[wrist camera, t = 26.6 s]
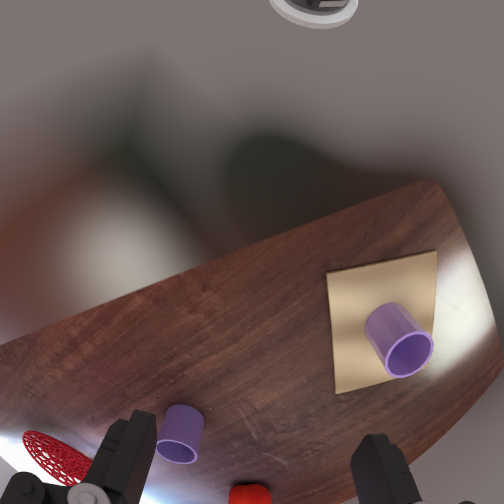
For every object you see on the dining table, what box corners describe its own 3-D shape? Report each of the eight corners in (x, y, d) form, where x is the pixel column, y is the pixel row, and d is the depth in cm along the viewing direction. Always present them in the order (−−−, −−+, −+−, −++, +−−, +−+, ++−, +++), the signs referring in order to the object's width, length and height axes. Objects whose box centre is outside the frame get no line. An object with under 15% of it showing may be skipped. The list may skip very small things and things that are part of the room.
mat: (325, 272, 36) (326, 274, 35) (434, 249, 35) (436, 250, 34) (335, 391, 41) (335, 394, 40) (425, 366, 40) (427, 368, 39)
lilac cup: (160, 404, 43) (147, 438, 35) (197, 403, 42) (188, 440, 34) (173, 429, 44) (163, 463, 36) (209, 429, 44) (202, 464, 36)
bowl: (82, 486, 56) (77, 497, 51) (14, 420, 49) (6, 431, 44) (152, 490, 52) (148, 505, 47) (71, 415, 45) (61, 431, 40)
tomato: (278, 488, 49) (279, 514, 42) (248, 498, 51) (248, 523, 44) (249, 474, 48) (248, 502, 40) (219, 485, 49) (216, 511, 42)
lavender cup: (364, 308, 36) (386, 340, 29) (407, 297, 36) (436, 325, 28) (364, 349, 38) (383, 383, 30) (405, 338, 38) (429, 368, 30)
